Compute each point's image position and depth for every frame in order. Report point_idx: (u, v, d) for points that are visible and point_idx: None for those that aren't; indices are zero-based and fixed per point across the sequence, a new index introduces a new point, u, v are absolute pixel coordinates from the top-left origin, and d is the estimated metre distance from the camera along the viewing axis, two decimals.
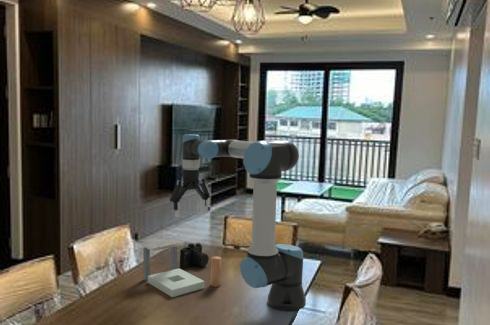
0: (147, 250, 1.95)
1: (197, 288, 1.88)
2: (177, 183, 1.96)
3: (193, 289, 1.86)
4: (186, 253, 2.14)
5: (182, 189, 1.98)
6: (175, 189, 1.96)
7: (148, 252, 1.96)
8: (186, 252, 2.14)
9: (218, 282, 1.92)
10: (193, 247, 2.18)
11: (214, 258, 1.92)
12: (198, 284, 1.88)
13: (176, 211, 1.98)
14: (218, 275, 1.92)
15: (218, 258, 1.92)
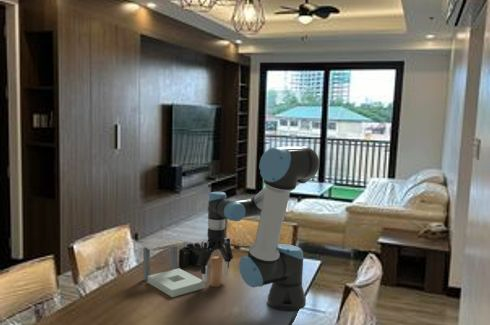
0: (147, 250, 1.95)
1: (197, 288, 1.88)
2: (203, 245, 1.87)
3: (193, 289, 1.86)
4: (185, 253, 2.14)
5: (208, 250, 1.90)
6: (201, 252, 1.87)
7: (148, 252, 1.96)
8: (185, 252, 2.14)
9: (218, 282, 1.92)
10: (192, 247, 2.18)
11: (214, 258, 1.92)
12: (198, 284, 1.88)
13: (203, 274, 1.89)
14: (218, 275, 1.92)
15: (218, 258, 1.92)
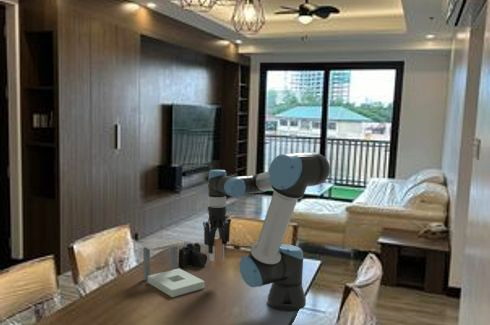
0: (147, 250, 1.95)
1: (197, 288, 1.88)
2: (205, 226, 1.87)
3: (193, 289, 1.86)
4: (185, 253, 2.14)
5: (212, 230, 1.90)
6: (205, 232, 1.87)
7: (148, 252, 1.96)
8: (185, 252, 2.14)
9: (219, 263, 1.91)
10: (192, 247, 2.18)
11: (215, 239, 1.91)
12: (198, 284, 1.88)
13: (211, 254, 1.90)
14: (219, 256, 1.91)
15: (219, 239, 1.91)
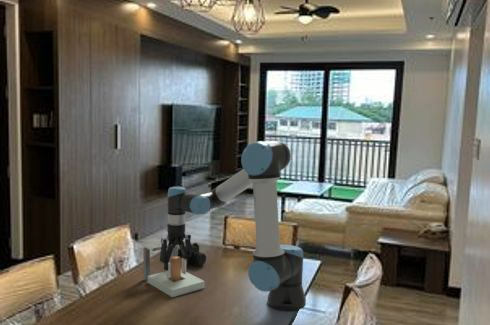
0: (147, 250, 1.95)
1: (197, 288, 1.88)
2: (162, 242, 1.86)
3: (193, 289, 1.86)
4: None
5: (169, 247, 1.89)
6: (162, 249, 1.86)
7: (148, 252, 1.96)
8: None
9: None
10: None
11: (173, 258, 1.91)
12: (198, 284, 1.88)
13: (166, 271, 1.89)
14: (177, 275, 1.90)
15: (177, 258, 1.91)
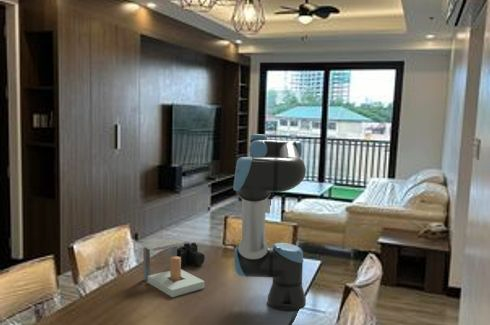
0: (147, 250, 1.95)
1: (197, 288, 1.88)
2: None
3: (193, 289, 1.86)
4: (182, 253, 2.15)
5: None
6: None
7: (148, 252, 1.96)
8: (182, 252, 2.15)
9: None
10: (189, 247, 2.18)
11: (173, 258, 1.91)
12: (198, 284, 1.88)
13: None
14: (177, 275, 1.90)
15: (177, 258, 1.91)
